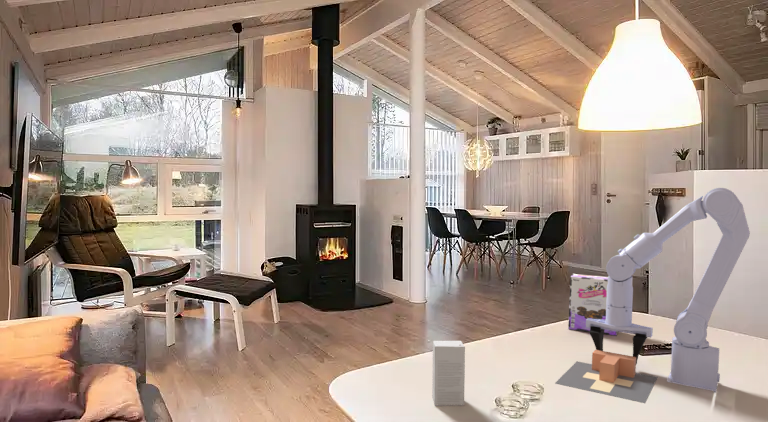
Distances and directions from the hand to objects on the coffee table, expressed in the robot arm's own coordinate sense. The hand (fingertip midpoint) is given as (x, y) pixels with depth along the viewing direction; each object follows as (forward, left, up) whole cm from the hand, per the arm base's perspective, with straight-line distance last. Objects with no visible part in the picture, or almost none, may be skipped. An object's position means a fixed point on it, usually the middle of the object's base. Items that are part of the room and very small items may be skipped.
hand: (617, 361), depth 130 cm
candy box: (+13, -33, -2) cm, 35 cm away
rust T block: (0, +7, -1) cm, 7 cm away
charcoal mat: (0, +10, -2) cm, 11 cm away
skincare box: (+24, +41, -2) cm, 48 cm away
